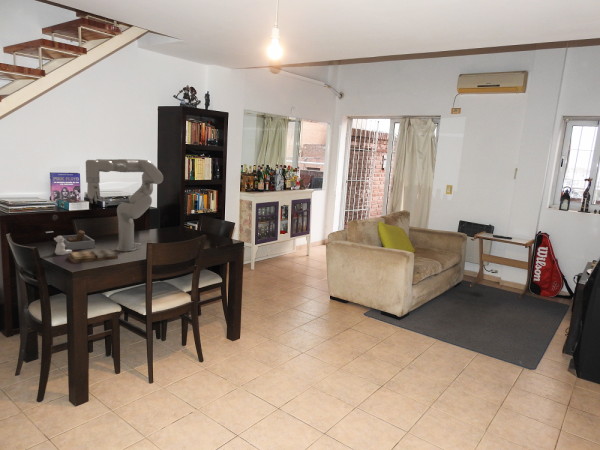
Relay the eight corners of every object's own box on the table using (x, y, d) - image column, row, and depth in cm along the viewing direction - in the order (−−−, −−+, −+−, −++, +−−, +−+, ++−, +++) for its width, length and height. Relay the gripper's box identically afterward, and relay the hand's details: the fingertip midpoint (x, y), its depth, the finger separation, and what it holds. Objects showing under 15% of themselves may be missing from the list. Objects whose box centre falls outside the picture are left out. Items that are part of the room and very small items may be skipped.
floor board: (110, 253, 277) (110, 248, 277) (117, 258, 267) (117, 253, 267) (67, 258, 261) (67, 253, 260) (73, 263, 251) (73, 258, 250)
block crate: (84, 241, 307) (84, 234, 307) (94, 247, 290) (94, 240, 289) (59, 243, 297) (59, 236, 296) (68, 250, 279) (68, 242, 278)
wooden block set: (68, 251, 285) (72, 238, 282) (60, 244, 288) (64, 231, 285) (92, 247, 301) (96, 235, 298) (84, 241, 304) (88, 229, 301)
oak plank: (89, 253, 268) (89, 251, 268) (95, 257, 259) (95, 255, 259) (70, 255, 261) (69, 252, 260) (75, 259, 252) (75, 256, 252)
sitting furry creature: (72, 252, 274) (72, 234, 272) (65, 256, 265) (65, 237, 263) (57, 252, 273) (56, 233, 271) (50, 255, 265) (49, 236, 263)
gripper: (103, 181, 260) (103, 211, 263) (95, 179, 271) (96, 207, 274) (89, 181, 255) (90, 211, 258) (82, 179, 266) (83, 208, 269)
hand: (93, 209), depth 266 cm, fingers closed
